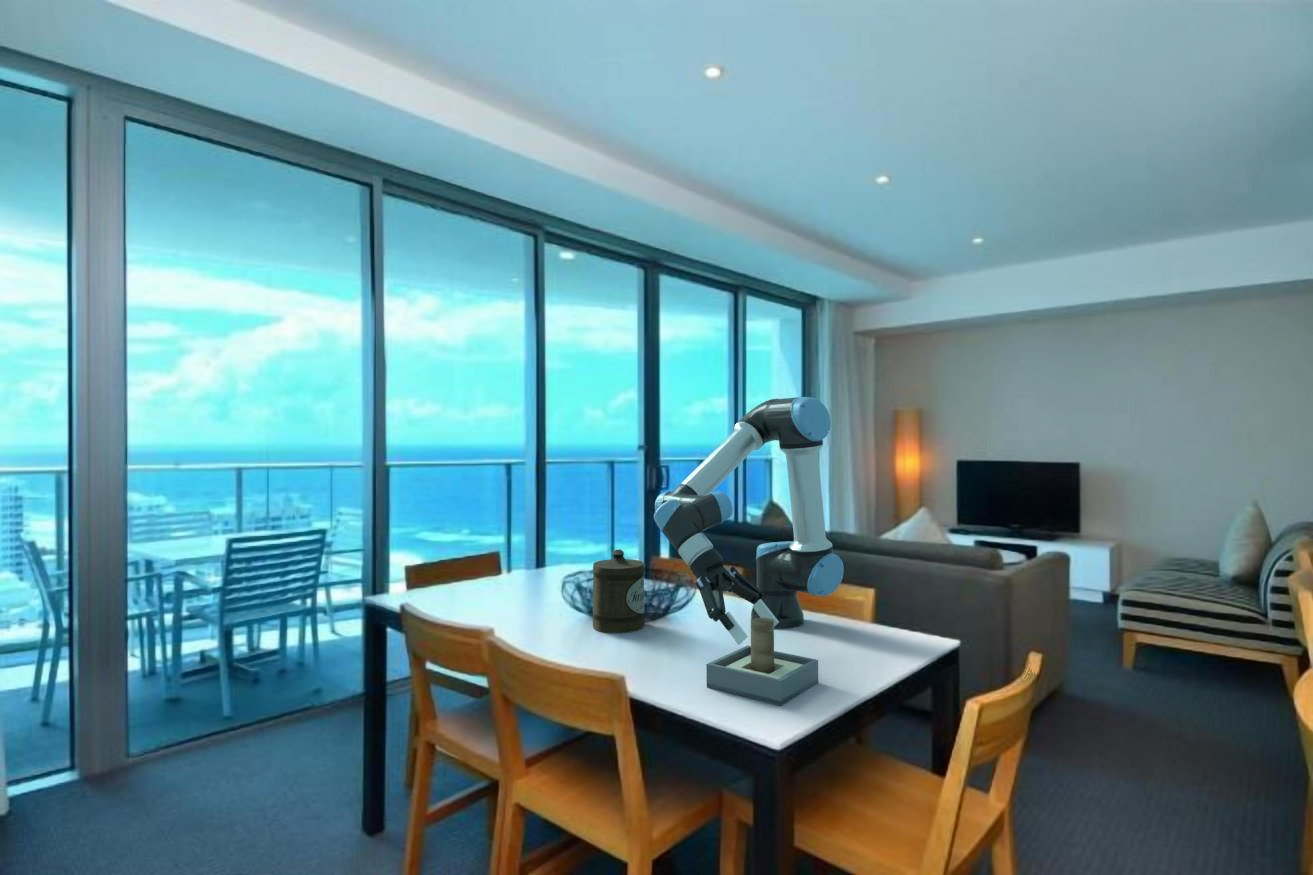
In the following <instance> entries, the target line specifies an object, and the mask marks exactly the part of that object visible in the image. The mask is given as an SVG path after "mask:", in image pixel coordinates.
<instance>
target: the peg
mask: <svg viewBox="0 0 1313 875" xmlns="http://www.w3.org/2000/svg"><path fill="white" fill-rule="evenodd" d="M750 646H751V670H753V671H757V672H762V673H766V674H770V673H772V672H774V651H775V628H774V620H772V619H769V618H754V619H751V618H750Z"/></svg>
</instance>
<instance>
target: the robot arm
mask: <svg viewBox="0 0 1313 875" xmlns="http://www.w3.org/2000/svg"><path fill="white" fill-rule="evenodd" d="M830 430H831V417H830V413H829V410H828V409H827V407H826V405H825V404H824V403H822V401H821V400H820V399H818V398H815V397H811V396H810V397H809V396H808V397H807V396H798V397H785V398H784V397H783V398H771V399H768V400H765V401H764V402H761V403H760V404H757V405H756V406H755V407H753V408H752V409H751V410H750V411H748V412H747V413H746V414H745V415H744V416H743V417H741V419H739V420H738V422H736V424H735V425H734V427H733V432H731V433H730V434H729V435H728V437H726V438H725V439H724V440H723V441H722V442H721V443H720V444H719V445H718V446H717V447H716V448H715V449H714V450H713V451H712V452H711V453H710V454H709V455H708V456H707V457H706V458H705V459H703V461H702V462H701V463H700V464H699V465H698V466H697V467H696V468H695V469H694V470H693V471H692V472H691V473H689V475H688V476H687V477H686V478H685V479H684V480H683V481H681V482H680V484H678V485H677V487H675V488H674V490H672V491H666V492H662V493H660V494H659V495H657V497H656V499H655V502H654V514H653V521H654V522H655V524H656V525H657V527H658V528H659V530H660V532H661V533H662V534H663V535H664V536H665V538H666V539H667V541H668V542H669V543H670V544H671V546H672V547H673V548H674V550H675V551H676V552H677V553H678V555H679V556H680V557H681V558H682V561H683V562H685V564H686V565H687V566H688V567H689V569H690V571H691V573H692V574H693V575H694V576H695V578H696V579H697V580H695V582H694V584H695V586H696V587H697V589H698V590H699V593H700V596H701V599H702V601H703V605H704V607H705V611H706V614H707V616H708V618H709V619H711V620H713V622H715V623H716V622H718V621H720V623H721V624H722V626H723V627H724V629H725V630H727V632H728V633H729V634H730V636H731V637H732V639H733V640H734V641H735V642H736V643H737V645H740V644H742V643H743V641H745V640H746V639H747V638H748V637H749V636H748V634H747V633H746V632H745V631H744V629H743V628H742V627H741V625H740V624H739V622H738V621H737V620H736V618H735V617H734V616H733V614H732V613H731V612H730V611H727V610H726V604H725V597H724V592H729V593H734V594H735V595H737V596H739V597H740V598H742V599H743V600H745V601H747V602H749V604H752V609H751V613H750V620H751V619H754V618H769V619H772V620H774V629H789V628H791V629H792V628H796V627H800V626H802V625H803V624H804V623H805V622H804V621H805V620H804V619H805V616H804V613H803V609H802V607H801V606H802V605H801V603H800V598H799V597H798V592H801V593H803V594H804V593H805V594H810V595H811V596H819V597H820V596H821V597H827V596H830V595H832V594H834V592H836V590H838V588H839V586H840V584H841V583H842V580H843V578H844V571H845V570H844V569H845V567H844V563H843V560H842V558H840V556H839V555H837V554H836V553H834V550H833V542H831V541H830V540H829V539H828V538H827V536H826V535H827V534H826V525H825V524H826V522H825V513H824V512H825V511H824V503H823V501H824V500H823V493H822V491H823V490H822V483H821V482H822V480H821V471H820V460H819V451H820V450H821V449H822V448H823V446H824V440H825V439H826V437H827V436H828V435H829V431H830ZM774 441H778V442H779V443H778V446H779V450H780V451H781V452H782V453H784V454H785V457H786V458H785V459H786V470H787V478H788V479H787V480H788V488H789V499H790V511H791V520H792V529H793V530H792V531H793V541H787V540H786V541H777V542H776V541H775V542H766V543H762V544H759V545H758V546H757V548H756V557H755V568H756V574H755V575H756V585H755V584H754V583H752V582H751V580H748V579H747V578H746V577H745V576H744V575H742V574H741V573H740V572H739V571H738V570H737V569H736V567H734V566H730V568H729V569H727V568H725V567H724V562H725V560H724V558H723V556H722V555H721V554H720V552H719V551H718V550H717V549H715V548H714V545H713V543H712V542H711V541H710V539H708V538H707V536H706V535H705V534H704V531H706V530H708V529H711V528H713V527H715V526H717V525H721V524H722V523H723V522H726V521H727V520H729V519H730V518H731V517H732V515H733V510H734V508H733V503H732V500H731V499H730V497H729V496H728V495H727V494H726V493H725V492H723V491H720V490H718V491H715V490H716V489H717V487H718V486H720V485H721V484H722V482H723V481H725V479H727V478H728V476H729V475H730V474H732V472H734V470H736V468H737V467H738V466H739V465H740V464H741V463H742V462H743V461H744V460H745V459H747V457H748V456H749V455H750V454H751V453H752V452H753V451H757V450H760V449H761V448H762V447H763V446H764V445H766V444H767V443H769V442H774ZM726 611H727V612H726Z"/></svg>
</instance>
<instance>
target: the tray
mask: <svg viewBox="0 0 1313 875" xmlns="http://www.w3.org/2000/svg"><path fill="white" fill-rule="evenodd" d="M705 666H706V688H708V689H713V690H717V691H719V692H720V691H721V692H724V693H727V694H733V695H736V696H739V697H744V698H748V699H752V700H755V701H759V702H764V703H767V704H769V705H770V704H771V705H775V706H778V707H782V706H783V705H785V704H786V703H788V702H789V701H791V700H793V699H795V698H796V697H798V696H800V695H801V694H803V693H804V692H806V691H808V690H809V689H810V688H812V687H814V686H815V685H818V683H819V659H815V658H810V657H807V656H801V655H795V654H792V653H786V652H781V651H775V650H774V672H772V673H770V674H766V673H762V672H757V671H753V670H751V645H746V646H743V647H741V648H739V649H736V650H735V651H731V653H728V654H725V655H723V656H721V657H719V658H716V659H715V660H713V661H710V662H708V663H706V665H705Z"/></svg>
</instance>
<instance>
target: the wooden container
mask: <svg viewBox="0 0 1313 875" xmlns="http://www.w3.org/2000/svg"><path fill="white" fill-rule="evenodd" d="M611 554H612V556H613V557H612V558H610V559H601V560H598V561H595V562H593V565H592V627H593V629H594V630H596V631H597V632H601V633H605V634H606V633H608V634H623V633H624V634H625V633H633V632H637V631H639V630H641V629H643V628H644V627H645V575H644V574H645V571H644V570H645V565H644V562H643V561H641V560H637V559H631V558H625V556H624V555H625V551H623V550H622V549H615V550H613V551H612V553H611Z"/></svg>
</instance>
